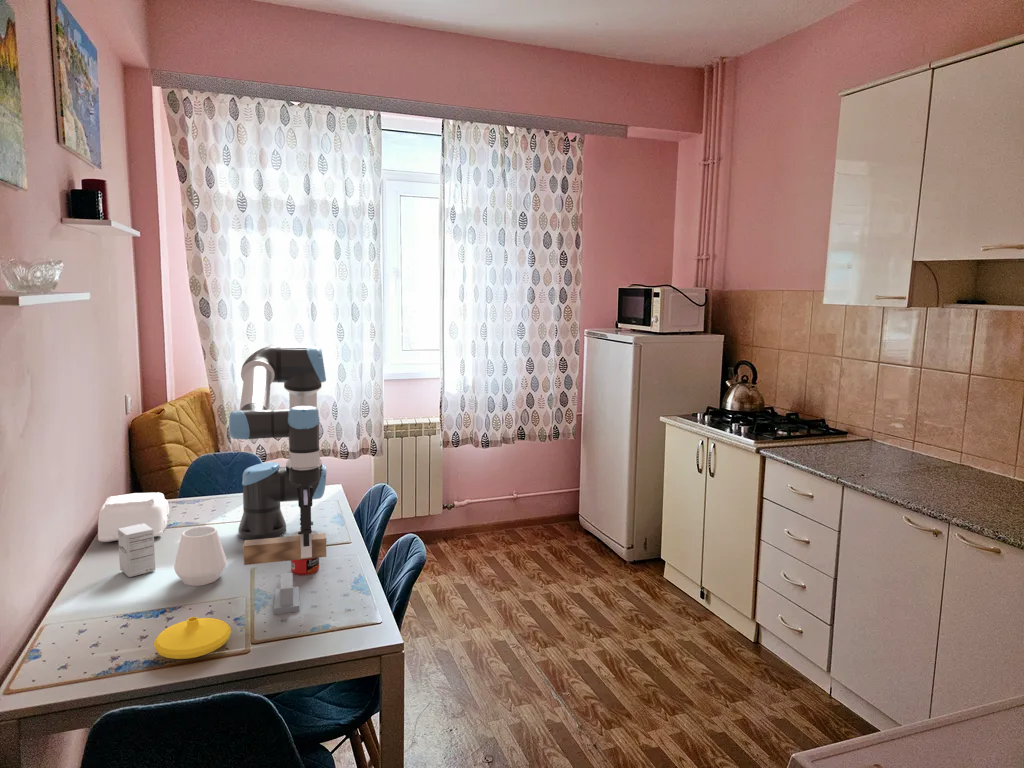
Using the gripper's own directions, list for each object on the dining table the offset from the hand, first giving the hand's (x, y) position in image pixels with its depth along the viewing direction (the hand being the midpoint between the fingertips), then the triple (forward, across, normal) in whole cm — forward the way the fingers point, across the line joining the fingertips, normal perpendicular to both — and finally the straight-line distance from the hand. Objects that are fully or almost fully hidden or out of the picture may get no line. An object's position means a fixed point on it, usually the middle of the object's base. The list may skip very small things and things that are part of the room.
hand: (306, 553), depth 173 cm
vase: (+13, +18, -25) cm, 33 cm away
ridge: (+13, 0, -5) cm, 14 cm away
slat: (+1, 0, -5) cm, 5 cm away
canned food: (+13, -20, 0) cm, 24 cm away
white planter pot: (+13, -22, -28) cm, 38 cm away
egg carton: (+13, -73, -54) cm, 92 cm away
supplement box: (+13, -33, -46) cm, 58 cm away
